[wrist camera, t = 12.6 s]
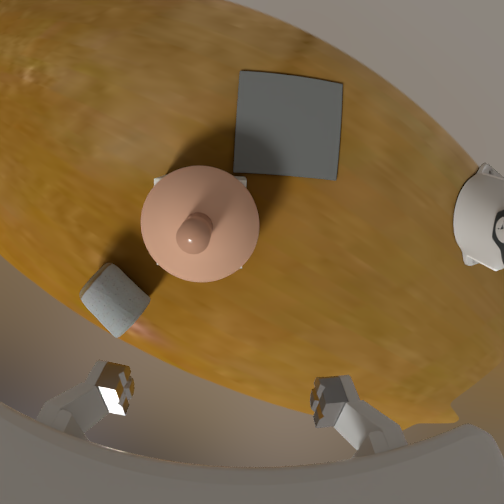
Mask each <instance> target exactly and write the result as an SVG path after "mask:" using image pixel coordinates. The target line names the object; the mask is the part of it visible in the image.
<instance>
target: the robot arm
mask: <svg viewBox="0 0 504 504" xmlns="http://www.w3.org/2000/svg"><path fill="white" fill-rule="evenodd" d="M454 234H455V238H456V241H457V243H458V245H459V247H460V248H461V250H462V252H463V260H464V263H465V264H466V265H468V266H471V265H475V264H478V263H481V264H483V265H485V266H487V267H488V268H490V269H492V270H494V271H498V270H501V269H503V268H504V177H502V176H501V175H500V174H499V173H498V172H497V171H496V170H494V169H493V168H492V167H491V166H490V165H488V164H486V163H483V164H482V165H481V166H480V168H479V170H478V172H477V173H476V174H475V175H474V176H473V177H471V178H470V179H469V180H468V181H467V182H466V183H465V185H464V186H463V188H462V189H461V191H460V194H459V196H458V199H457V202H456V206H455V211H454ZM130 373H131V370H130V367H129V366H126V365H121V364H117V363H112V362H107V361H103V360H98V361H97V362H96V363H95V365H94V367H93V368H92V370H91V372H90V374H89V375H88V378H87V379H86V381H85V383H82V382H81V383H80V384H78V385H76V386H75V387H72V388H71V389H69V390H67V391H66V392H63V393H61V394H60V395H58V396H56V397H54V398H52V399H51V400H48V401H46V402H45V404H44V406H43V407H42V409H41V411H40V413H39V414H38V416H37V418H36V420H34V419H32V418H30V417H28V416H26V415H24V414H22V413H20V412H18V411H16V410H14V409H12V408H11V407H9V406H7V405H5V404H4V403H2V402H0V504H504V458H503V456H502V454H501V452H500V450H499V448H498V446H497V444H496V442H495V440H494V439H493V437H492V436H491V435H490V434H489V433H488V432H486V431H484V430H482V429H480V428H478V427H476V426H474V425H472V424H463V425H461V426H458V427H456V428H454V429H451V430H449V431H446V432H444V433H441V434H438V435H436V436H433V437H430V438H428V439H425V440H422V441H419V442H416V443H413V444H409V445H408V444H407V441H406V439H405V437H404V434H403V432H402V430H401V428H400V425H398V424H397V423H395V422H394V421H392V420H391V419H389V418H388V417H386V416H385V415H384V414H382V413H381V412H379V411H378V410H376V409H375V408H373V407H372V406H371V405H369V404H368V403H366V402H365V401H364V400H361V401H360V399H359V396H358V394H357V391H356V389H355V387H354V384H353V382H352V379H351V377H350V376H349V375H343V376H330V377H317V378H316V379H315V382H314V385H315V388H314V389H312V391H311V395H310V405H311V409H312V410H313V411H314V412H315V413H314V416H313V418H314V422H315V427H316V428H321V427H334V428H335V429H336V430H337V431H338V432H339V433H340V434H341V435H342V436H343V437H344V438H345V439H346V440H347V441H348V442H349V443H350V444H351V445H352V446H353V447H354V448H355V449H356V450H357V452H356V453H355V454H354V456H353V457H352V458H351V459H346V460H341V461H334V462H327V463H319V464H310V465H300V466H285V467H224V466H209V465H198V464H189V463H181V462H175V461H168V460H162V459H157V458H151V457H146V456H141V455H137V454H133V453H128V452H124V451H120V450H116V449H113V448H109V447H106V446H102V445H99V444H96V443H92V442H90V441H89V440H88V439H87V437H86V436H85V434H84V433H85V432H86V431H87V430H89V429H90V428H91V427H92V426H94V425H95V424H96V423H97V422H99V421H100V420H101V419H102V418H104V417H105V416H106V415H107V414H108V413H109V412H111V413H115V414H120V415H126V413H127V410H128V407H129V402H128V400H129V399H131V398H132V396H133V394H134V380H133V378H131V376H130Z"/></svg>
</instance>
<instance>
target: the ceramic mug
mask: <svg viewBox="0 0 504 504" xmlns="http://www.w3.org/2000/svg"><path fill="white" fill-rule="evenodd" d="M80 298H81V300H82V302H83V303H84V305H85V306H86V307H87V309H88V310H89V311H90V312H91V313H92V314H93V315H94V316H95V317H96V318H97V319H98V320H99V321H100V322H101V323H102V324H103V325H104V326H105V327H106V328H107V329H108V331H109V332H110V333H111V334H112V335H113V336H115V337H116V338H117V337H120V336H121V335H122V334H123V333H124V332H126V331H127V330H128V329H129V328H130V327H131V326H132V325H133V324H134V322H135V321H136V320H137V319H138V317H139V316H140V315H141V314H142V313H143V311H144V310H145V309H146V307H147V305H148V304H149V302H150V297H149V296H148V295H146V294H145V293H144V292H143V291H142V290H141V289H140V288H139V287H138V286H137V285H136V284H135V283H134V282H133V281H132V280H131V279H129V278H128V277H127V276H126V275H125V274H124V272H123V271H122V270H121V269H120V268H118V267H117V266H116V265H114V264H113V263H106V264H104V265H103V266H102V267H101V268H100V269H99V270H98V271H97V272H96V273H95V274H94V275H93V276H92V277H91V278H90V280H89V281H88V282H87V283H86V284H85V285H84V287H83V288H82V290H81V291H80Z"/></svg>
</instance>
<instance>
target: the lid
mask: <svg viewBox="0 0 504 504" xmlns="http://www.w3.org/2000/svg"><path fill="white" fill-rule="evenodd" d="M141 231H142V236H143V240H144V243H145V245H146V248H147V250H148V251H149V253H150V255H151V256H152V258H153V259H154V260H155V261H156V262H157V263H158V265H160V266H161V267H162V268H163V269H164V270H166V271H167V272H169V273H170V274H172V275H174V276H176V277H178V278H181V279H184V280H188V281H193V282H210V281H215V280H219V279H222V278H224V277H227V276H229V275H230V274H232V273H234V272H235V271H237V270H238V269H239V268H240V267H241V266H242V265H243V264H245V262H246V261H247V260H248V259H249V257H250V256H251V254H252V252H253V250H254V248H255V246H256V243H257V239H258V235H259V216H258V211H257V208H256V205H255V202H254V200H253V198H252V196H251V194H250V193H249V191H248V190H247V188H246V187H245V186H244V185H243V184H242V183H241V182H240V181H239V180H238V179H237V178H235V177H234V176H233V175H231V174H229V173H228V172H226V171H224V170H221V169H218V168H215V167H211V166H202V165H198V166H189V167H184V168H181V169H178V170H175V171H173V172H171V173H169V174H168V175H166V176H165V177H163V178H162V179H161V180H160V181H159V182H158V183H157V184H156V185H155V186H154V187H153V188H152V189H151V191H150V193H149V194H148V196H147V198H146V200H145V203H144V206H143V209H142V214H141Z"/></svg>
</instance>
